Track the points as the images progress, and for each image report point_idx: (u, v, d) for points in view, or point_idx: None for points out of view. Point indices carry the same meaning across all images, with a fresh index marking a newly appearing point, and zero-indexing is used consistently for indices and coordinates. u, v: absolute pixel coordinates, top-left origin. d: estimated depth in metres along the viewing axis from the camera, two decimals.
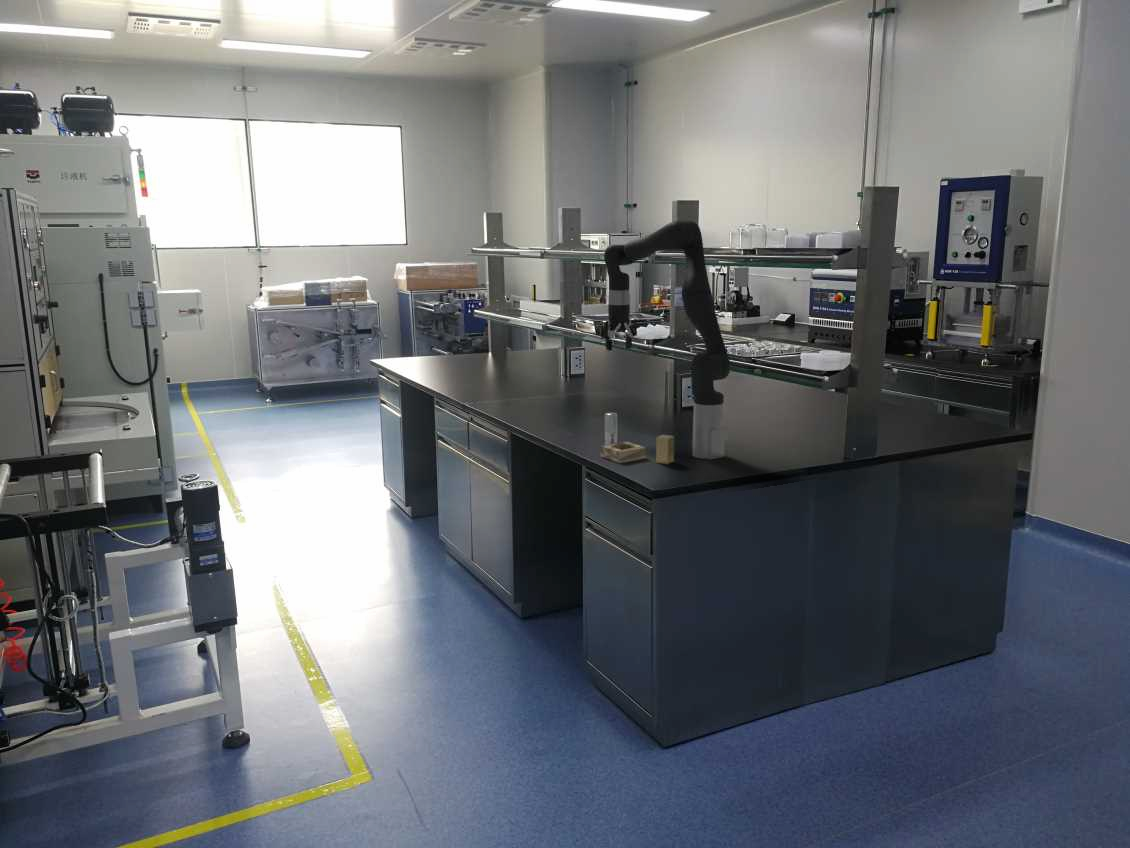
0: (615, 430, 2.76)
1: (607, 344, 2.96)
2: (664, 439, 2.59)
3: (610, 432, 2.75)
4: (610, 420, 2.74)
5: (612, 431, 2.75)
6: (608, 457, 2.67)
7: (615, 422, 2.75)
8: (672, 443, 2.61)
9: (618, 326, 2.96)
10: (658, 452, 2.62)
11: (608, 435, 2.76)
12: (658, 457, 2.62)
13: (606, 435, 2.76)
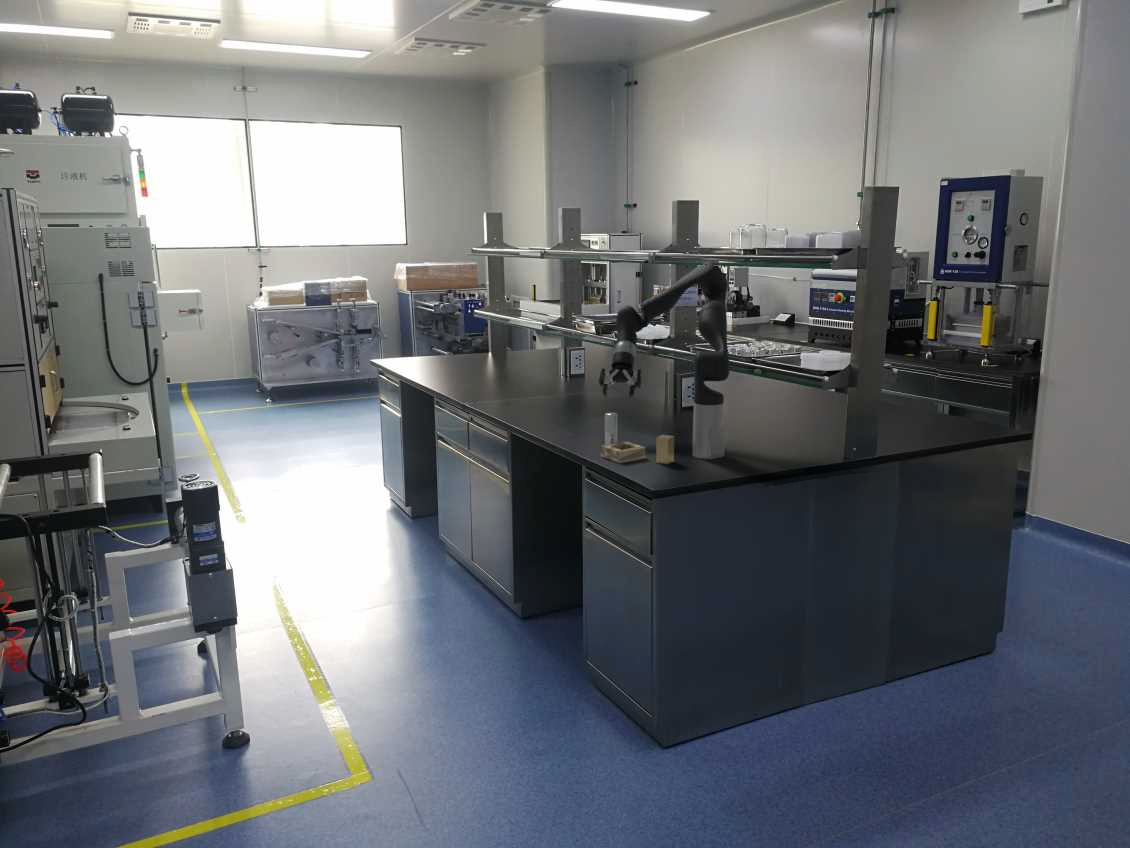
0: (615, 430, 2.76)
1: (634, 391, 2.86)
2: (664, 439, 2.59)
3: (610, 432, 2.75)
4: (610, 420, 2.74)
5: (612, 431, 2.75)
6: (608, 457, 2.67)
7: (615, 422, 2.75)
8: (672, 443, 2.61)
9: None
10: (658, 452, 2.62)
11: (608, 435, 2.76)
12: (658, 457, 2.62)
13: (606, 435, 2.76)
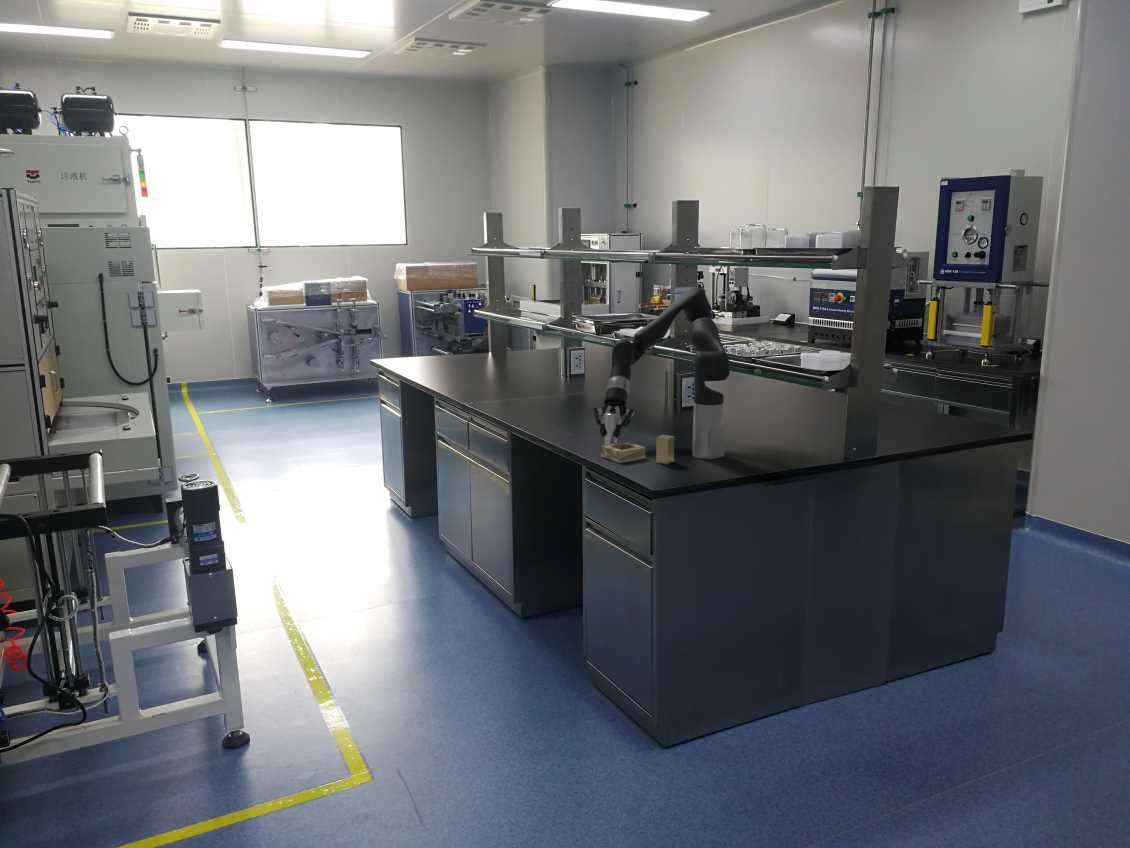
0: (615, 430, 2.76)
1: (620, 431, 2.76)
2: (664, 439, 2.59)
3: (610, 432, 2.75)
4: (610, 420, 2.74)
5: (611, 431, 2.75)
6: (608, 457, 2.67)
7: (615, 422, 2.75)
8: (672, 443, 2.61)
9: None
10: (658, 452, 2.62)
11: (608, 435, 2.76)
12: (658, 457, 2.62)
13: (606, 435, 2.76)
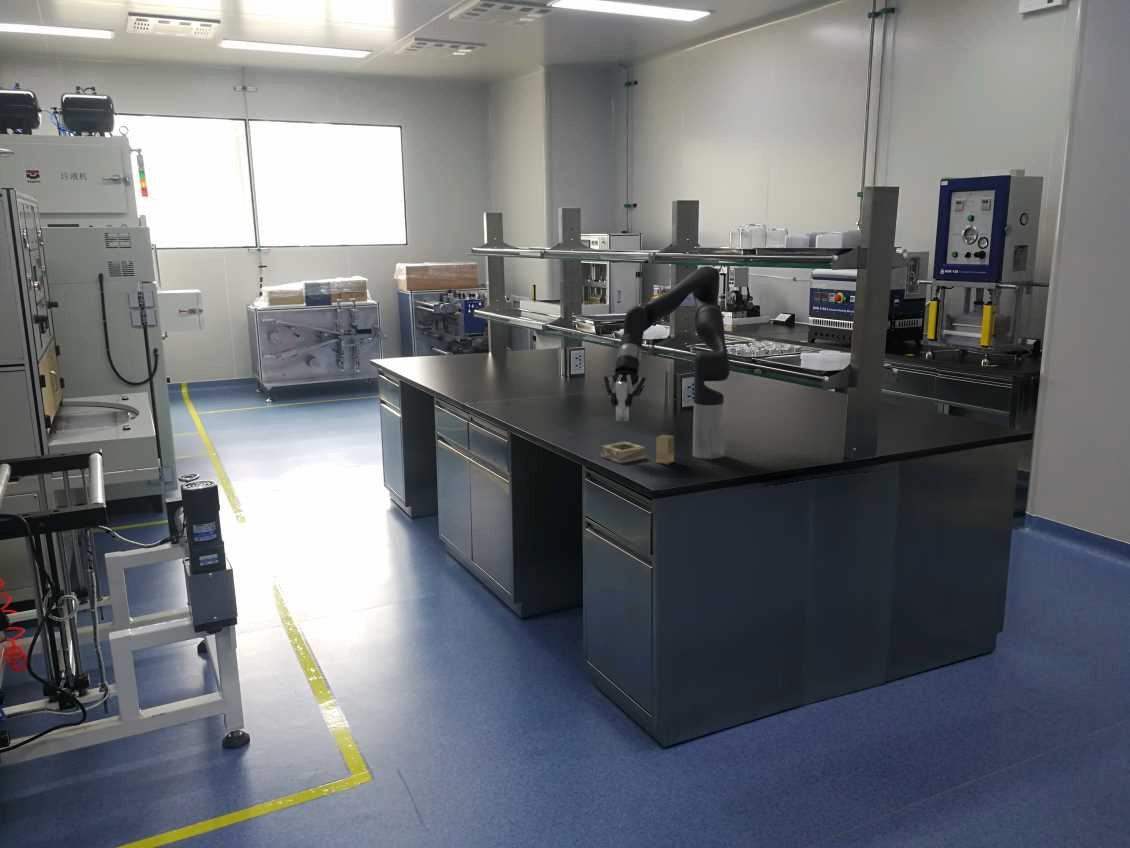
0: None
1: (632, 400, 2.64)
2: (664, 439, 2.59)
3: (621, 402, 2.64)
4: (621, 389, 2.63)
5: (623, 400, 2.64)
6: (608, 457, 2.67)
7: (626, 391, 2.64)
8: (672, 443, 2.61)
9: None
10: (658, 452, 2.62)
11: (619, 405, 2.64)
12: (658, 457, 2.62)
13: (617, 405, 2.65)
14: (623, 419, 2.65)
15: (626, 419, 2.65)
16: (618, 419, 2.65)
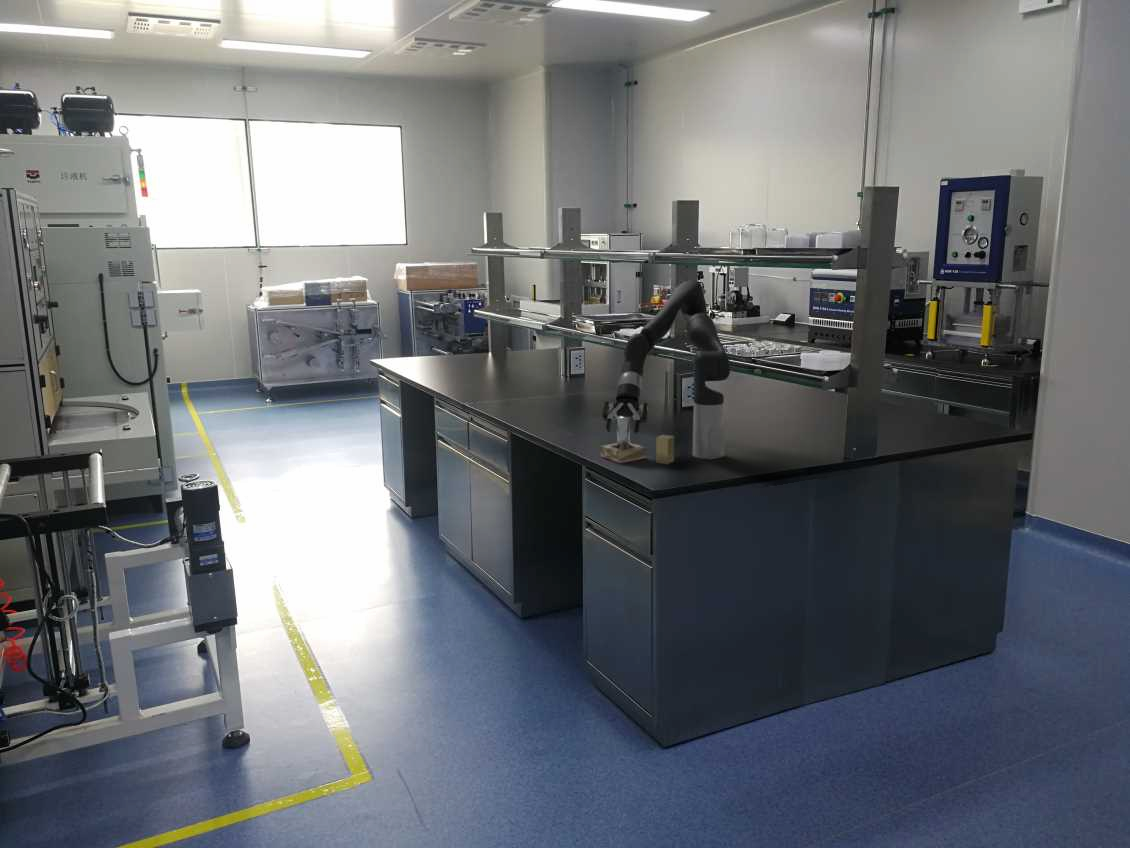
0: (628, 434, 2.66)
1: (639, 426, 2.66)
2: (664, 439, 2.59)
3: (622, 436, 2.65)
4: (623, 423, 2.64)
5: (624, 434, 2.65)
6: (608, 457, 2.67)
7: (628, 425, 2.65)
8: (672, 443, 2.61)
9: None
10: (658, 452, 2.62)
11: (621, 439, 2.66)
12: (658, 457, 2.62)
13: (618, 439, 2.66)
14: None
15: None
16: None
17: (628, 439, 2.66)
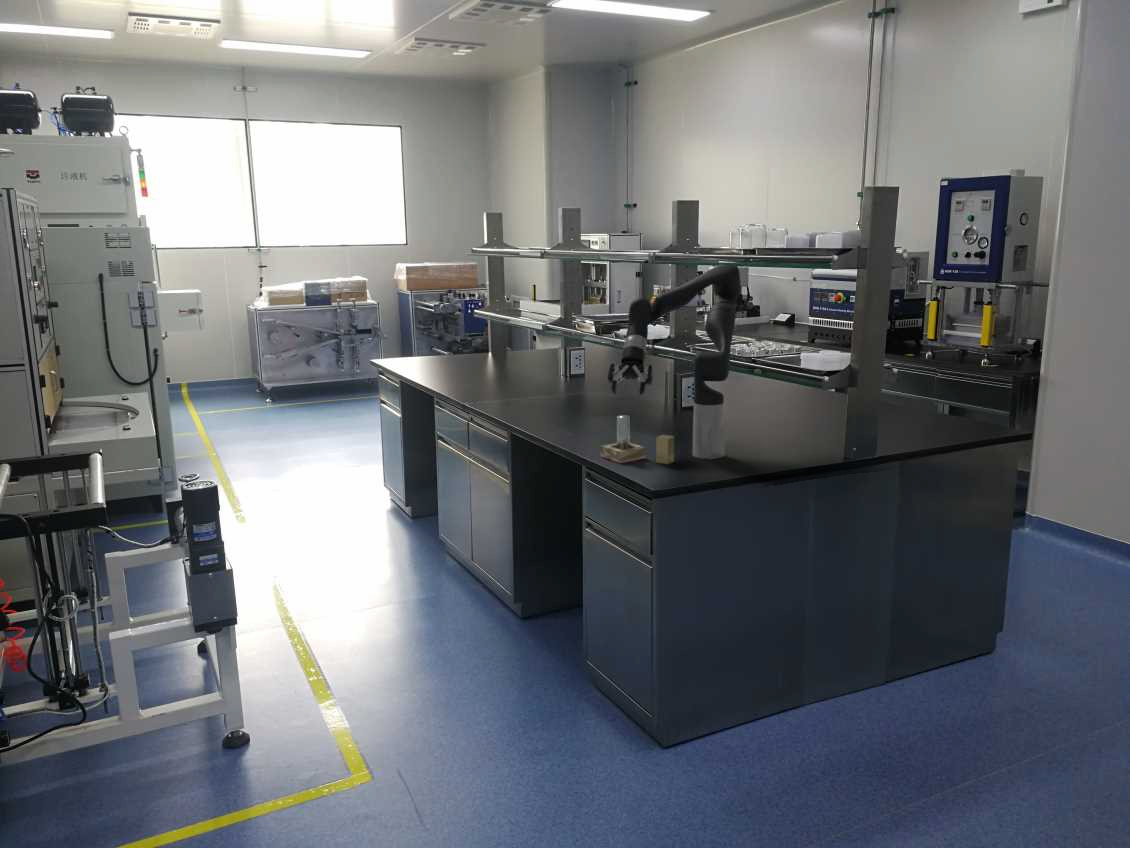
0: (628, 433, 2.66)
1: (644, 388, 2.73)
2: (664, 439, 2.59)
3: (622, 436, 2.65)
4: (623, 423, 2.65)
5: (624, 434, 2.65)
6: (608, 457, 2.67)
7: (628, 425, 2.65)
8: (672, 443, 2.61)
9: None
10: (658, 452, 2.62)
11: (621, 439, 2.66)
12: (658, 457, 2.62)
13: (618, 439, 2.66)
14: None
15: None
16: None
17: (628, 439, 2.66)
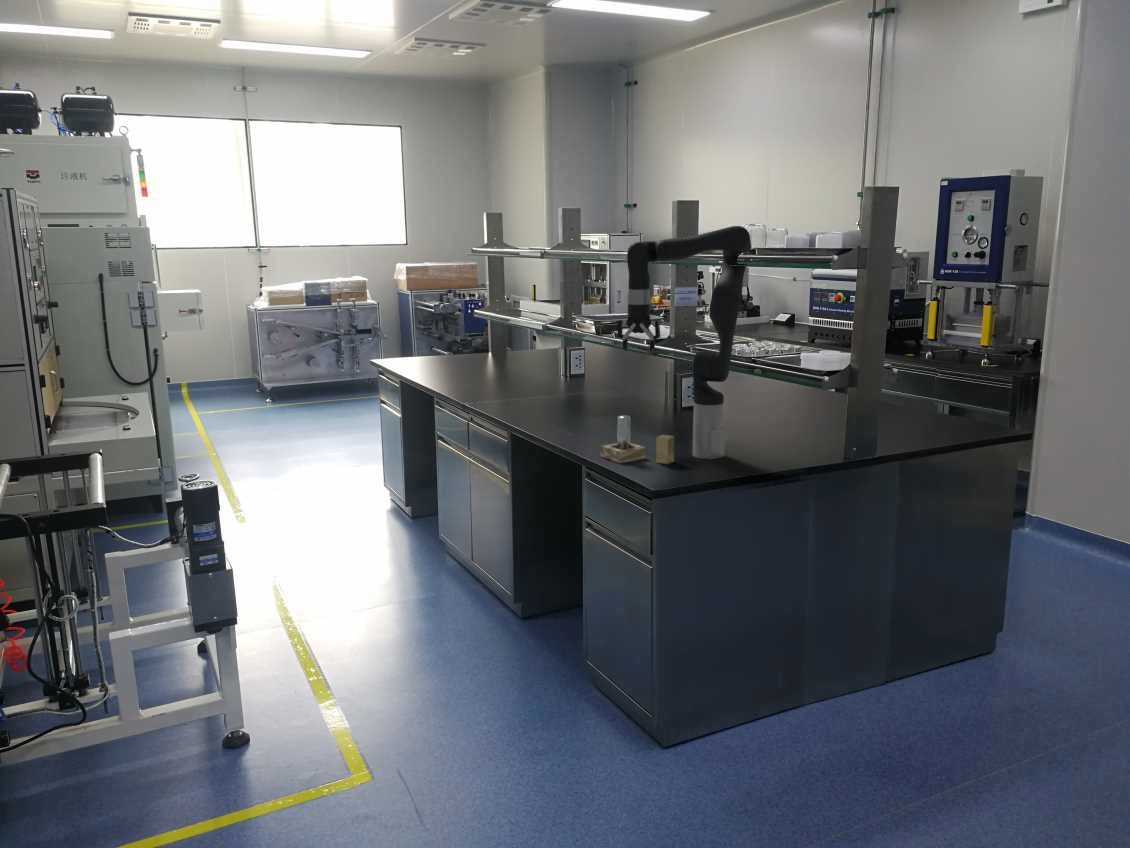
0: (628, 434, 2.66)
1: (654, 344, 2.87)
2: (664, 439, 2.59)
3: (623, 436, 2.65)
4: (623, 423, 2.64)
5: (625, 434, 2.65)
6: (608, 457, 2.67)
7: (628, 425, 2.65)
8: (672, 443, 2.61)
9: None
10: (658, 452, 2.62)
11: (621, 439, 2.66)
12: (658, 457, 2.62)
13: (619, 439, 2.66)
14: None
15: None
16: None
17: (628, 439, 2.66)
